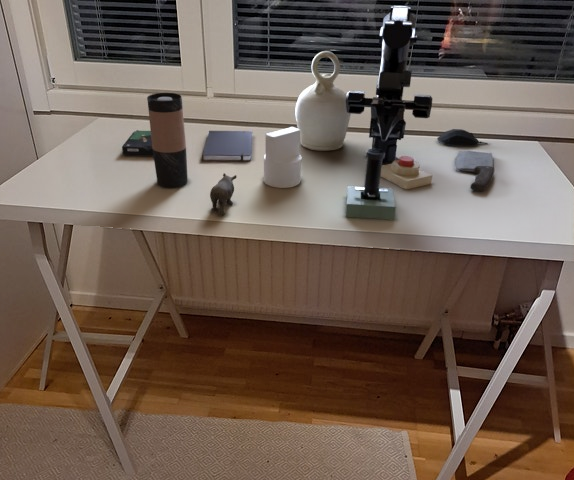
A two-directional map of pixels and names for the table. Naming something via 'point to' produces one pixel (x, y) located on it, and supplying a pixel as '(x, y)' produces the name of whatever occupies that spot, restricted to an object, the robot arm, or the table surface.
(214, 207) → the rhino figurine
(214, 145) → the notebook
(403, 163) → the button
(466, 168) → the cleaver
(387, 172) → the panel
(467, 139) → the gaming mouse
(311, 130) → the white bell
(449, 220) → the table surface
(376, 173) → the black flanged tube
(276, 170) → the cylinder with rectangular tab
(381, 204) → the green square frame
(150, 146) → the disk drive
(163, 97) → the travel mug
